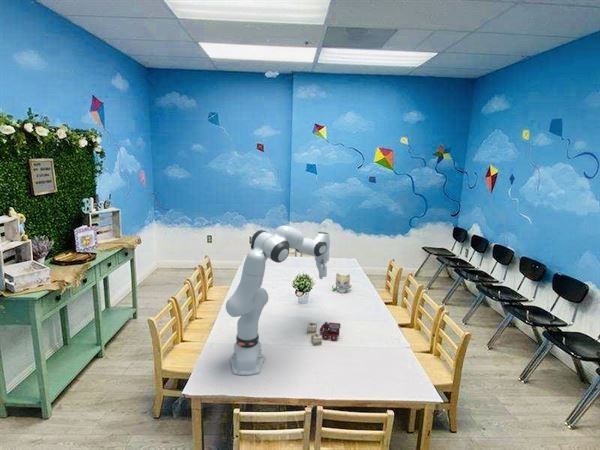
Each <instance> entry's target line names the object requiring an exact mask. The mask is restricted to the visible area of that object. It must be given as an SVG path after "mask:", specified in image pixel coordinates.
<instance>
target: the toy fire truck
mask: <svg viewBox="0 0 600 450" xmlns="http://www.w3.org/2000/svg"><path fill="white" fill-rule="evenodd" d="M340 329H341V323H340V322H328V321H325V322H324V323H323V324H322V325H321V327H320V328H319V333H320V335H321V337H322V340H326V341H327V340H329V337H330V341H333V342H335V341H337V340H338V338H339V337H340Z"/></svg>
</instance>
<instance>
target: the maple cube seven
mask: <svg viewBox="0 0 600 450" xmlns="http://www.w3.org/2000/svg"><path fill="white" fill-rule="evenodd" d="M317 327H318V324H317V323H316V322H308V324H307V334H310V335H311V334H316V333H317Z"/></svg>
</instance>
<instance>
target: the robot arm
mask: <svg viewBox="0 0 600 450" xmlns="http://www.w3.org/2000/svg"><path fill="white" fill-rule="evenodd" d="M330 239H331V238H330V234H329V232H325V231H317V232H316V235H315V238H310V237H306V236H304V234H303V233H302V231H300V229H297V228H295V227H292V226H289V225H279V226H278V227H277V228H276V229H275V231H274V234H271V233H270V232H268V231H266V230H263V229H259V230H258V231H256V232H255V233H253V235H252V237H251V241H250V242H251V243H250V249H251V250H250V251H249V252H248V253H247V255H246V256H245V259H244V262H243V266H242V270H241V271H242V272H241V277H240V281H239V283H238V286H237V287H236V289H235V291H234V293H233V294H232V296H230V297H229V298H228V299H227V300H226V303H225V310H226V313H227V314H228V315H229V316H230V317H231V318H237V317H238V320H237V323H236V324H237V326H236V338H235V339H236V342H234V343H233V353H232V355H230V356H229V359H230V360H229V361H230V365H231V371H232V374H234V375H236V376H237V375H238V376H254V375H258V374H260V373H261V370H262V367H263V364H264V362H265V357H266V356H265V355H264V354H263V353H262V349H263V348H262V343H261V342H260V341H259V339H260V337H259V336H260V335H259V320H260V317H261V315H262V311H263V310H264V307H265V306H266V305H267V303H268V302H269V294H268V292H267V290H266V289H265V288H263V287H262V285H263V281H264V276H265V273H266V271H265V270H266V262H267V260H268V259H269V260H271V261H273V262H274V263H280V264H281V263H282V262H284V261H285V260H287V258H288V256H289V253H290V250H293V249H294V250H295V251H296V252H297V253H299V254H300V253H301V254H303V255H304V254H305V255H309V256H313V257H314V261H315V267H316V269H317V271H318V277H319V280H323V279H324V278H326V277H327V275H328V271H327V269H328V265H327V262H329V261H330V246H331V240H330ZM323 277H324V278H323Z"/></svg>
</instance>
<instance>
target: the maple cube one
mask: <svg viewBox="0 0 600 450" xmlns="http://www.w3.org/2000/svg"><path fill="white" fill-rule="evenodd" d="M310 335H311V337H310V339H311V340H310V342H311V344H312V346H315V347H316V346H322V344H323V343H322V342H323V338H322V335H320V332H318V333H317V332H316V334H310Z"/></svg>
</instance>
